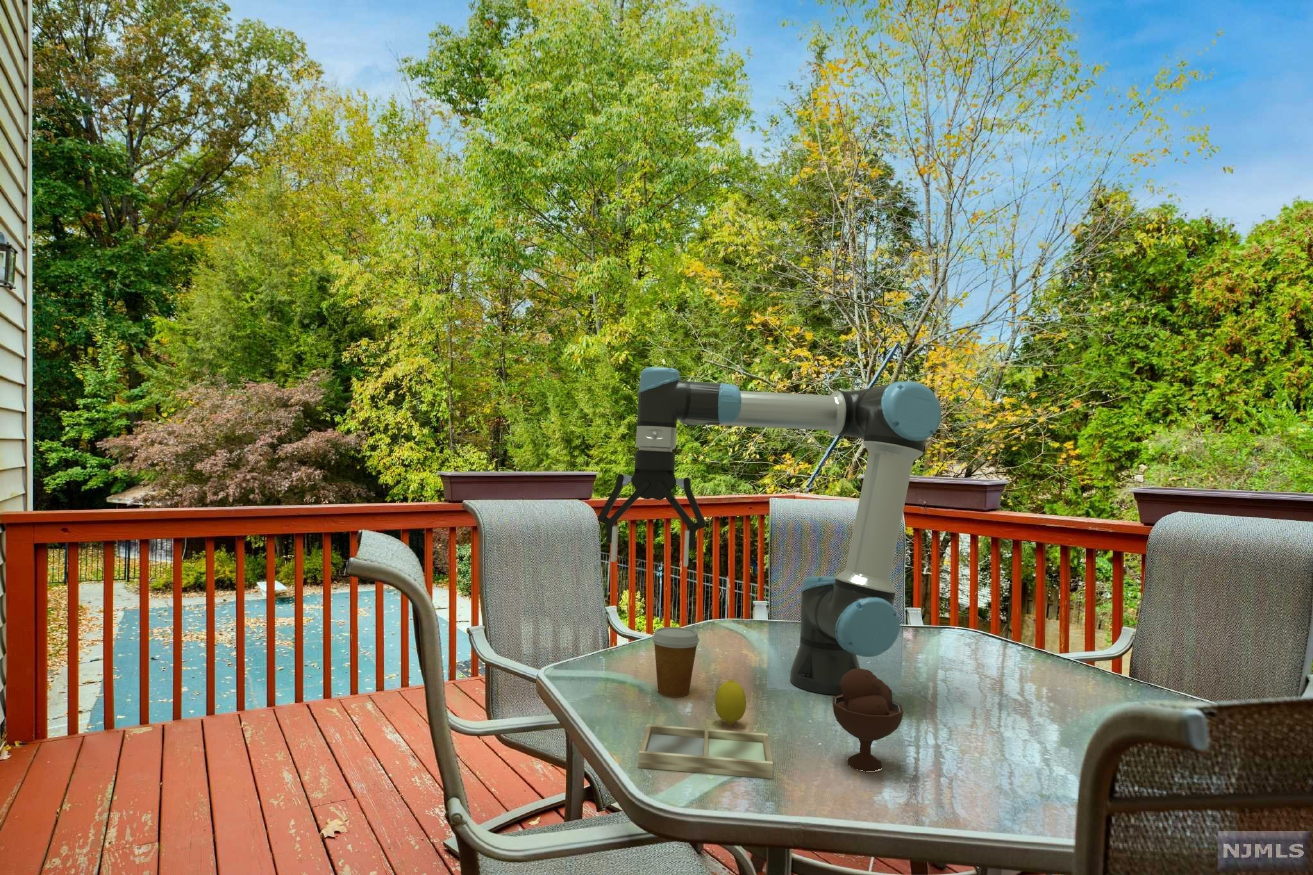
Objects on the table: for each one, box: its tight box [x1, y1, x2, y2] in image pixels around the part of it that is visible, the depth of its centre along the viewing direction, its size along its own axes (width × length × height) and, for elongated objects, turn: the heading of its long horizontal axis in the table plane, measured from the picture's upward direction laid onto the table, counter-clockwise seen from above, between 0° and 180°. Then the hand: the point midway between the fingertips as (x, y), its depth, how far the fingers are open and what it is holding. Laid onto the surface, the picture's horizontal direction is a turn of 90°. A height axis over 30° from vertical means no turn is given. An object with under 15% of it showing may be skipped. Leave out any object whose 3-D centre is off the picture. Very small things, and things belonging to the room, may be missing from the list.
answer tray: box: [637, 724, 774, 779], centre depth 115 cm, size 20×12×2 cm, turn 85°
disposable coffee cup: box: [651, 626, 700, 698], centre depth 147 cm, size 10×10×12 cm
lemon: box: [714, 678, 747, 726], centre depth 130 cm, size 6×6×8 cm
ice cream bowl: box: [831, 667, 904, 773], centre depth 115 cm, size 11×11×15 cm
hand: (649, 563), depth 137 cm, fingers open, 13 cm apart
